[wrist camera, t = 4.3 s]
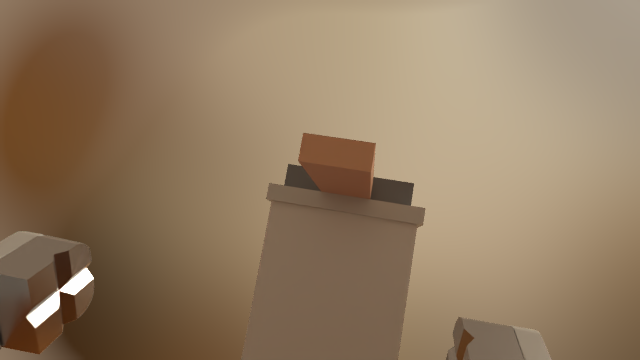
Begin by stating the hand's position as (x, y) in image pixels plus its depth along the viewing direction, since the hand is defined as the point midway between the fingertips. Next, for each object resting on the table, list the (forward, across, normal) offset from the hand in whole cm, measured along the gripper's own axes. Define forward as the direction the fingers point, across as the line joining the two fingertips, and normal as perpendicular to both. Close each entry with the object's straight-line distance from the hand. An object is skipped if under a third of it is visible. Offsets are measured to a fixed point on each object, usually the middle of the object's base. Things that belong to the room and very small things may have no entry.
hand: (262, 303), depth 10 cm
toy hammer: (+17, 0, -4) cm, 18 cm away
